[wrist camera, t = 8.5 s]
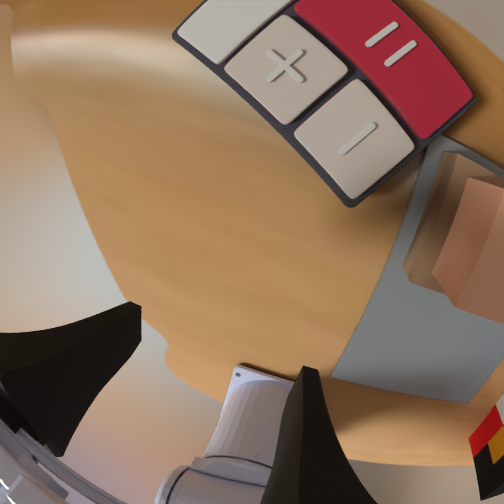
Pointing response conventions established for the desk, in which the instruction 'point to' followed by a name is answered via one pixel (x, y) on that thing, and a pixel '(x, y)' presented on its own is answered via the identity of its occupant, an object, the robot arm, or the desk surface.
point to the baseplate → (421, 318)
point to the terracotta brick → (475, 253)
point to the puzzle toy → (490, 452)
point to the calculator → (334, 80)
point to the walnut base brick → (441, 215)
